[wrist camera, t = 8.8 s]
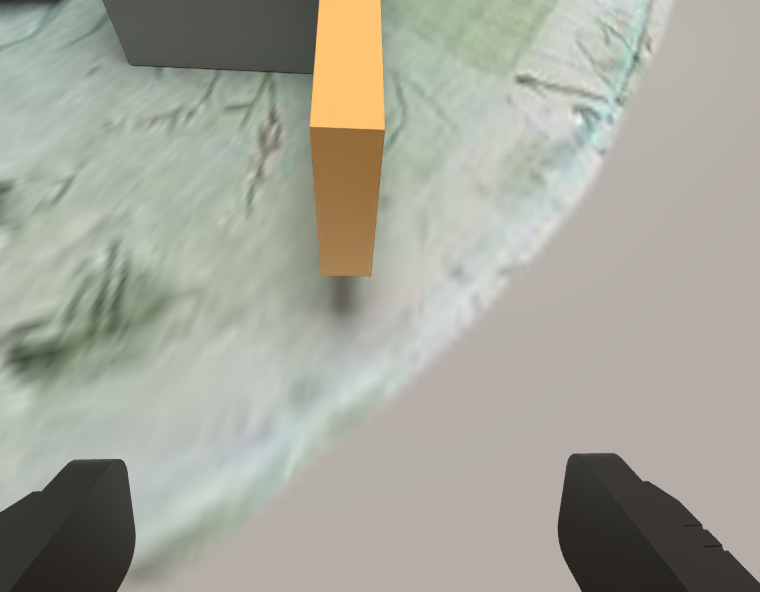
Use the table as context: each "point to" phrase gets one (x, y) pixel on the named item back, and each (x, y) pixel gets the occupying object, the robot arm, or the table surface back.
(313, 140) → the door
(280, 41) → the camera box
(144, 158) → the table surface
